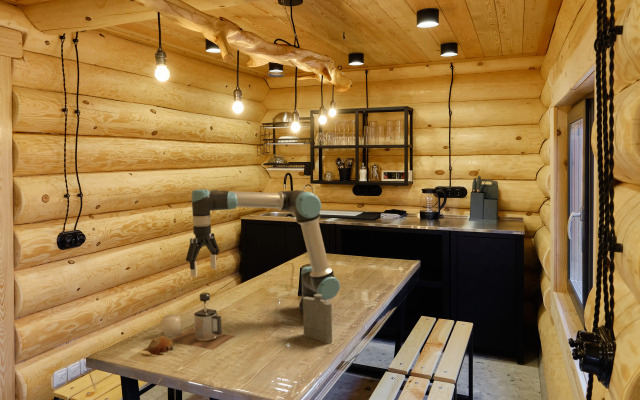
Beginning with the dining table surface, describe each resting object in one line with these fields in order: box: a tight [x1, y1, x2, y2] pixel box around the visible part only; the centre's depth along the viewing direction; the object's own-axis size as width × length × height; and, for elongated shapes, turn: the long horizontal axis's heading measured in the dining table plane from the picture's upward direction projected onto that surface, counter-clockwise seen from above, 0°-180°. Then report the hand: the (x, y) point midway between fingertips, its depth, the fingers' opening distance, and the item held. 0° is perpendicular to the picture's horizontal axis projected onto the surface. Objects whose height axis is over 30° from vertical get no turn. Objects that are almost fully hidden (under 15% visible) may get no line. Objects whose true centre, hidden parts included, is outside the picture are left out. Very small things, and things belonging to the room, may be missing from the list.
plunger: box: [199, 292, 211, 313], centre depth 219 cm, size 7×7×18 cm
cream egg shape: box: [160, 314, 182, 338], centre depth 224 cm, size 9×8×9 cm
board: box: [170, 327, 235, 351], centre depth 219 cm, size 24×16×1 cm, turn 65°
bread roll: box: [148, 335, 175, 356], centre depth 209 cm, size 10×10×8 cm
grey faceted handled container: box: [193, 308, 223, 341], centre depth 219 cm, size 13×10×12 cm
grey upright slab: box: [302, 294, 333, 345], centre depth 218 cm, size 16×4×20 cm, turn 49°
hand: (204, 272), depth 217 cm, fingers open, 13 cm apart
